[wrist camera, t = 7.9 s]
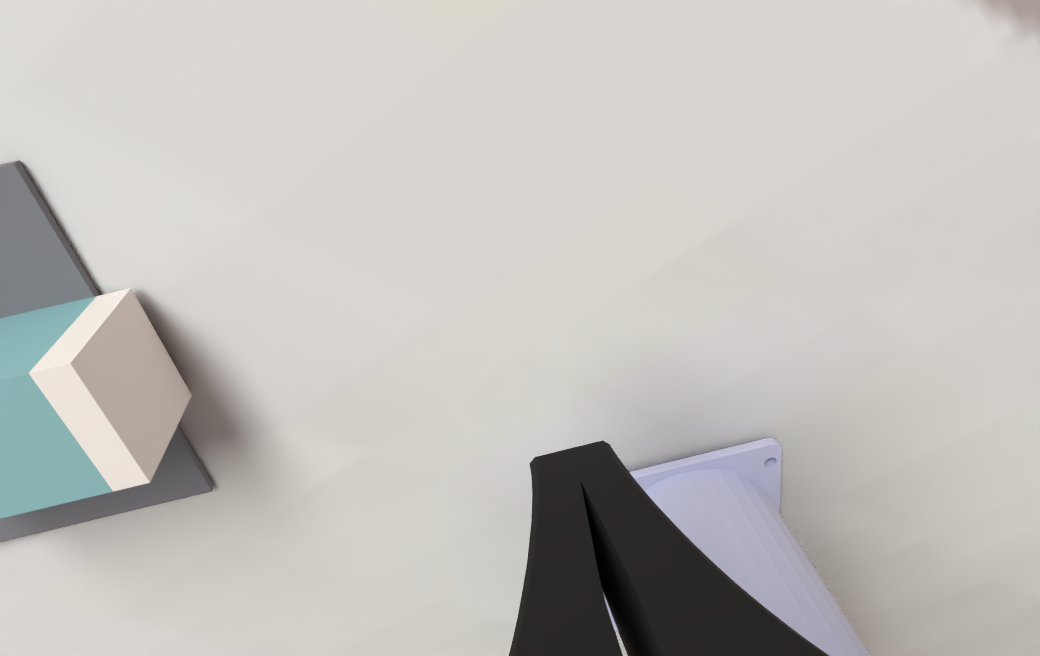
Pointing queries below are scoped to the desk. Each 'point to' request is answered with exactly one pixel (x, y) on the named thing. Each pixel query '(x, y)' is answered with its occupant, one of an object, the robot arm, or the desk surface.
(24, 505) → the teal block
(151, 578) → the desk surface
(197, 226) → the desk surface
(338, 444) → the desk surface
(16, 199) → the pad
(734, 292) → the desk surface
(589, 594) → the robot arm
